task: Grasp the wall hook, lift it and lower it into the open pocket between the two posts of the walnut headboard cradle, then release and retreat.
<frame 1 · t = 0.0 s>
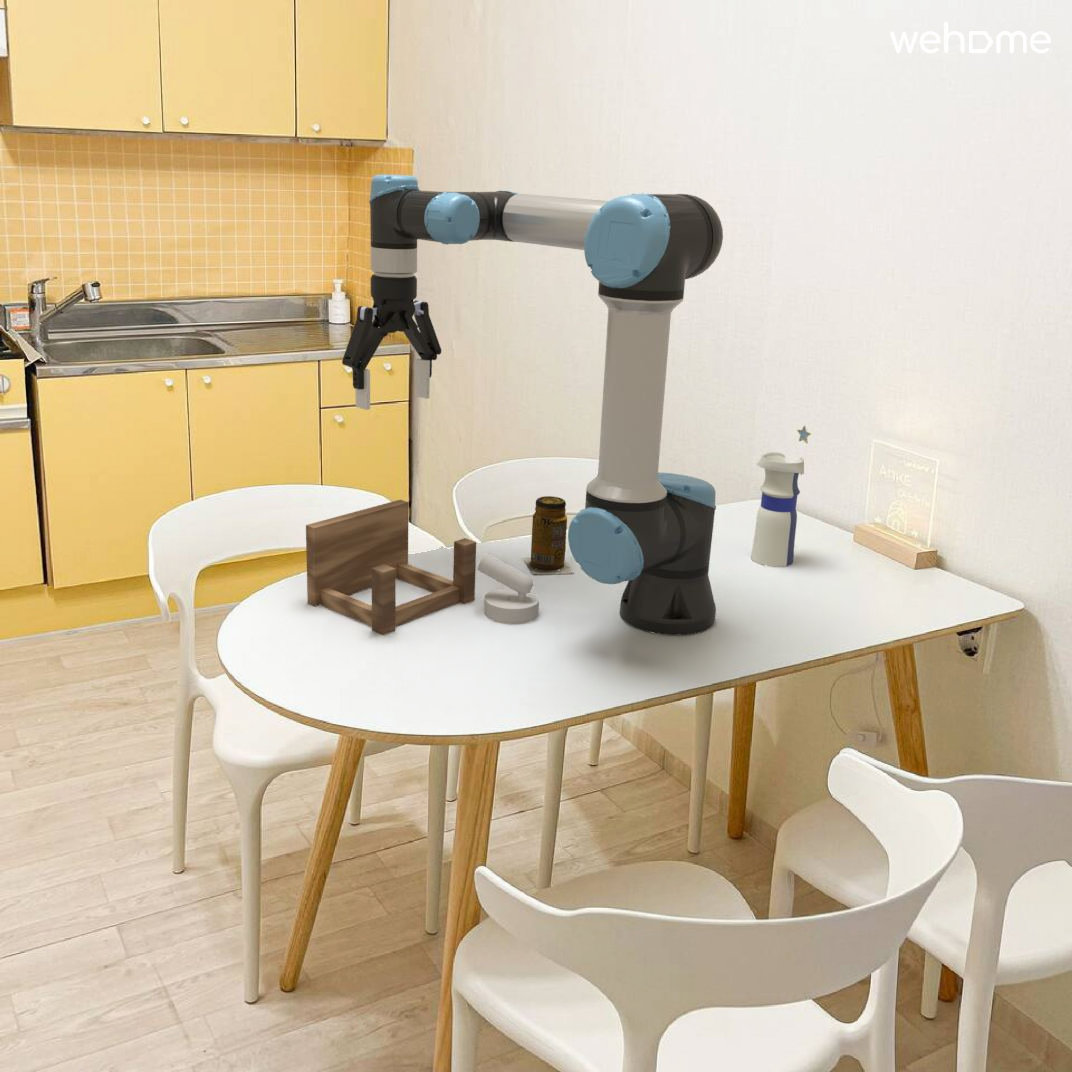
hand: (393, 402, 195), 28 cm above the table, fingers open, 13 cm apart
headboard cradle: (390, 601, 185), on the table
condiment: (547, 567, 204), on the table
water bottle: (770, 560, 212), on the table
wall hook: (506, 613, 183), on the table
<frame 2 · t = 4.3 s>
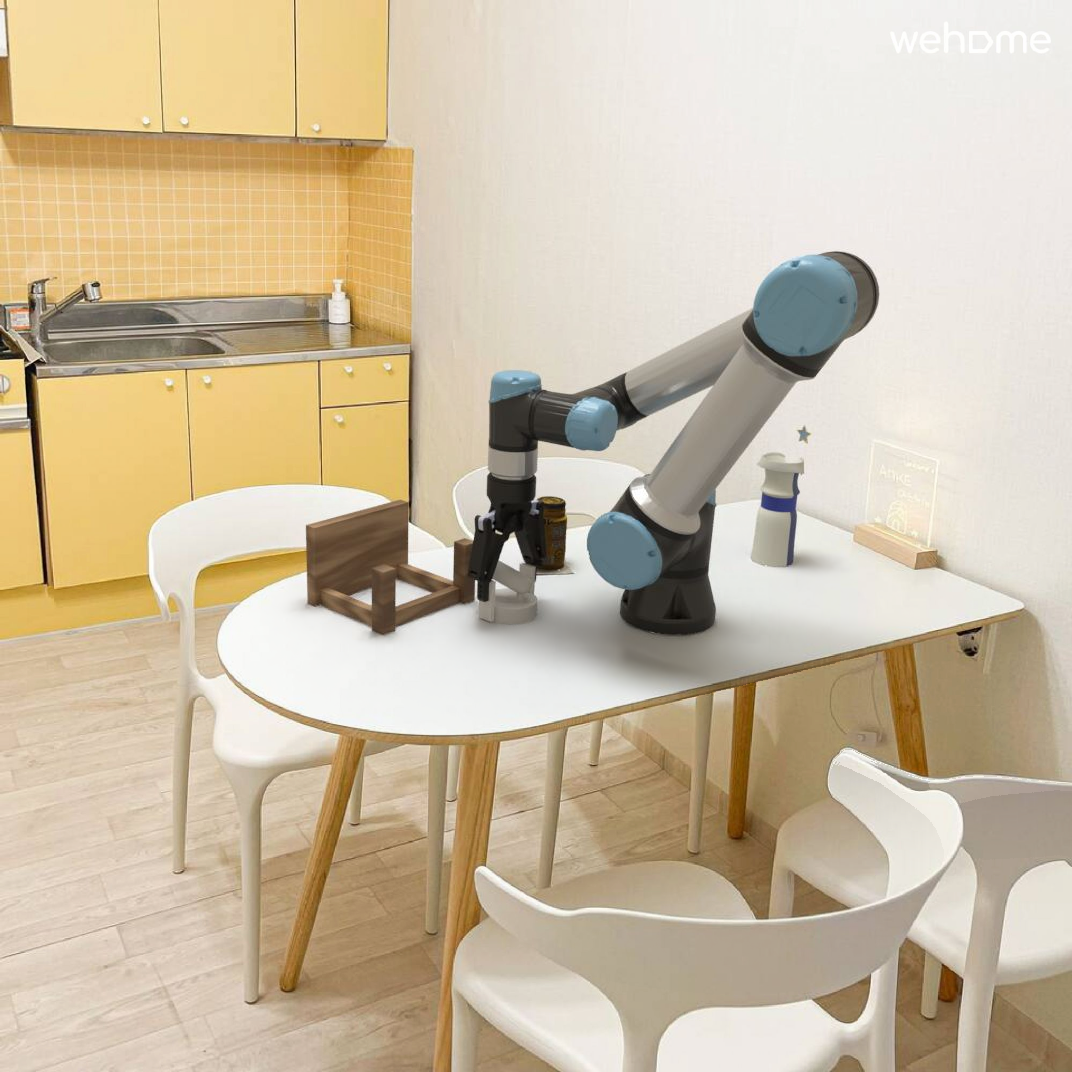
hand: (506, 610, 183), 0 cm above the table, fingers closed on wall hook, 9 cm apart
wall hook: (505, 613, 183), on the table, touching gripper
everything else where it was.
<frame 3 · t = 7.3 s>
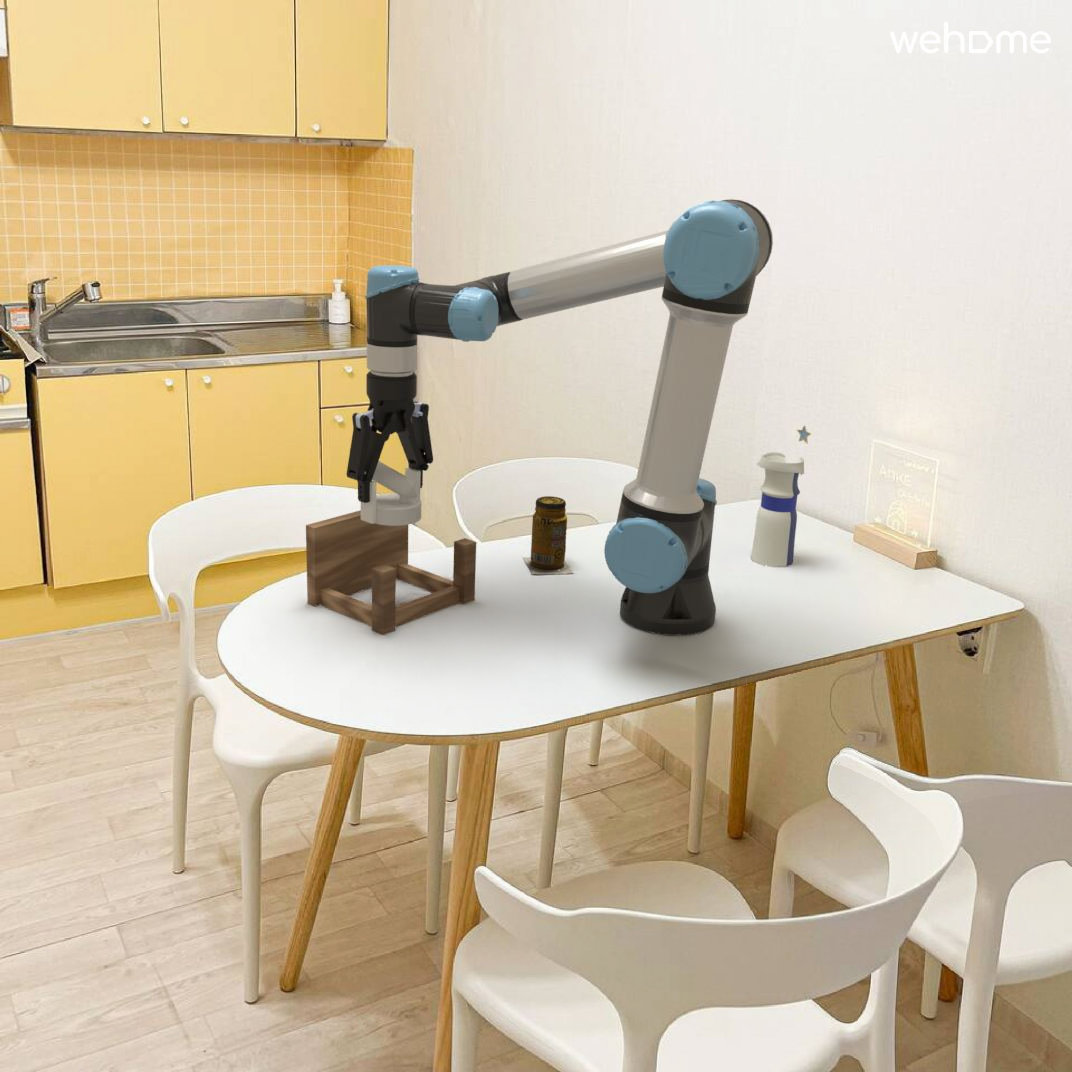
hand: (390, 514, 181), 15 cm above the table, fingers closed on wall hook, 9 cm apart
wall hook: (389, 517, 180), point 14 cm above the table, touching gripper
everything else where it was.
when the fingers open (2 cm above the table, at t = 9.9 s): wall hook drops 2 cm, resting in headboard cradle.
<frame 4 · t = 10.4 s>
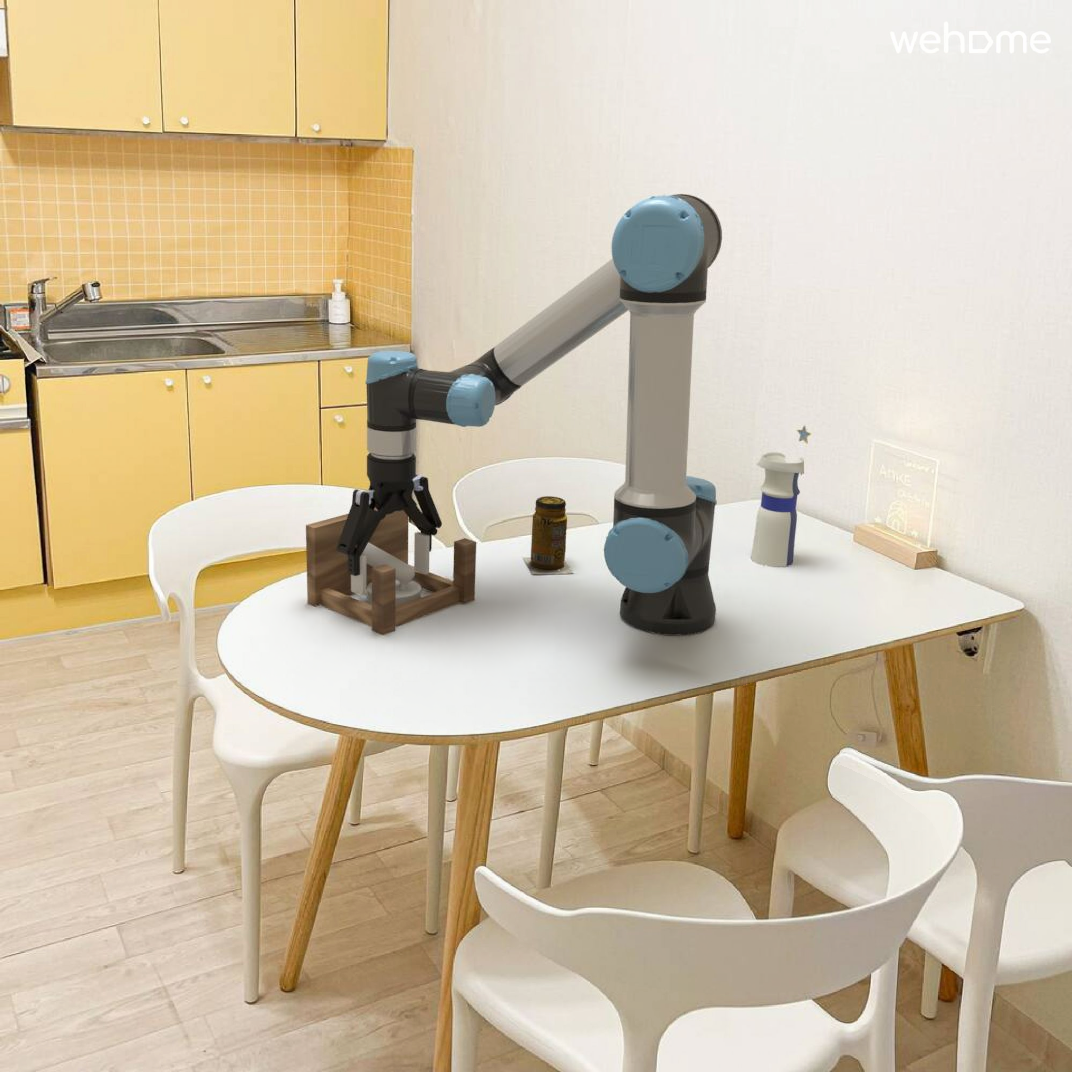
hand: (391, 582, 184), 3 cm above the table, fingers open, 13 cm apart
wall hook: (389, 603, 185), resting in headboard cradle
everything else where it was.
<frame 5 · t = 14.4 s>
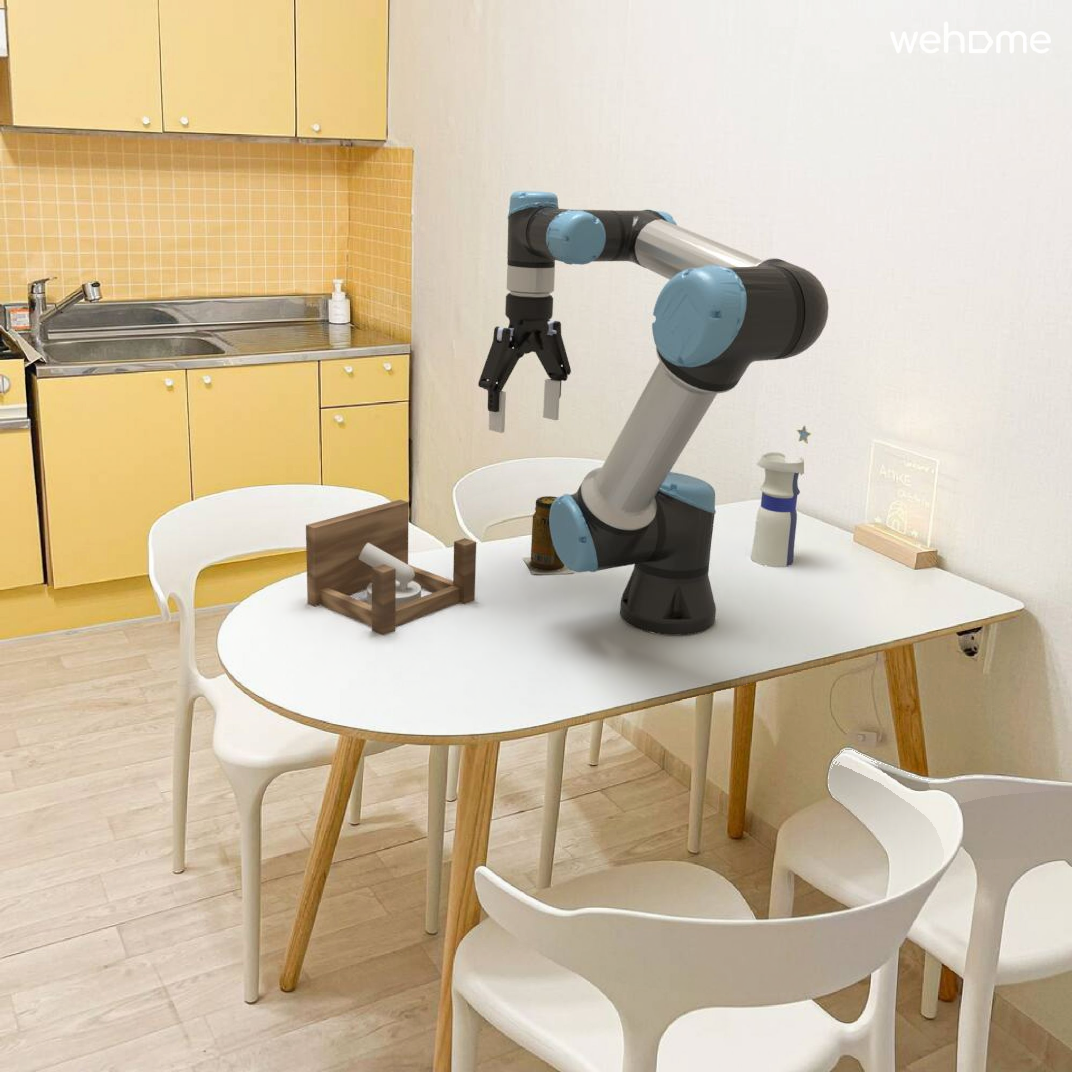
hand: (524, 424, 189), 27 cm above the table, fingers open, 13 cm apart
nothing on the table moved.
at the end: wall hook inside the target area on the headboard cradle (0.3 cm from its centre), point 0.0 cm above the headboard cradle's base; the gripper is holding nothing; wall hook touching table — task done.
